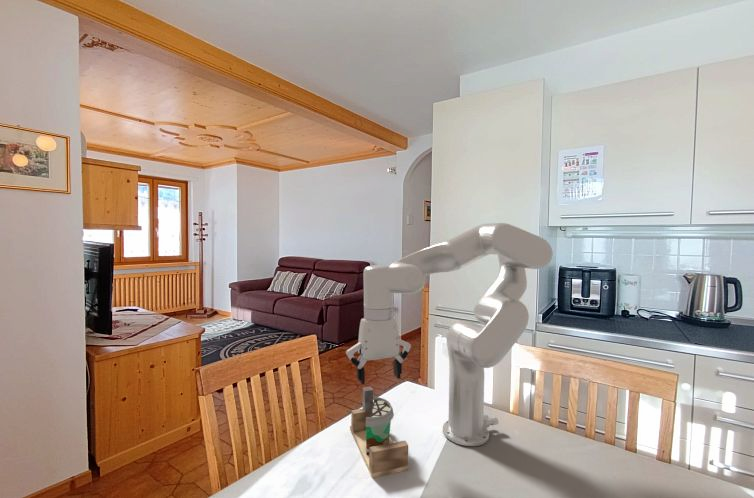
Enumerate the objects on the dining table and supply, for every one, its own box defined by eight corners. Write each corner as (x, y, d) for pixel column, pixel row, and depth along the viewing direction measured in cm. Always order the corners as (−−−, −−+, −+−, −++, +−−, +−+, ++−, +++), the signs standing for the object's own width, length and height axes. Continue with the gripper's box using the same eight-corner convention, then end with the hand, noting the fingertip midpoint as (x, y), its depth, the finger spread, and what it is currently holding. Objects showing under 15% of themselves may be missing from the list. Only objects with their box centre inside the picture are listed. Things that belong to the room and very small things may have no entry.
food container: (390, 461, 84) (390, 420, 83) (365, 458, 85) (365, 418, 84) (395, 433, 96) (396, 397, 96) (373, 431, 97) (374, 395, 97)
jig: (379, 424, 102) (380, 404, 102) (408, 470, 82) (408, 445, 82) (350, 429, 99) (350, 408, 99) (371, 477, 79) (372, 452, 79)
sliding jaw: (381, 422, 101) (381, 385, 101) (384, 426, 99) (384, 388, 98) (351, 427, 98) (351, 388, 98) (353, 431, 96) (353, 392, 96)
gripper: (404, 308, 95) (405, 369, 96) (342, 313, 90) (343, 378, 91) (415, 313, 88) (416, 380, 89) (349, 320, 83) (350, 390, 84)
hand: (379, 379), depth 90 cm, fingers open, 9 cm apart
